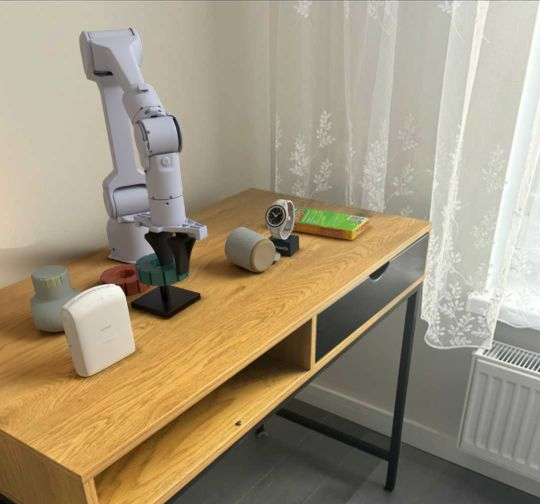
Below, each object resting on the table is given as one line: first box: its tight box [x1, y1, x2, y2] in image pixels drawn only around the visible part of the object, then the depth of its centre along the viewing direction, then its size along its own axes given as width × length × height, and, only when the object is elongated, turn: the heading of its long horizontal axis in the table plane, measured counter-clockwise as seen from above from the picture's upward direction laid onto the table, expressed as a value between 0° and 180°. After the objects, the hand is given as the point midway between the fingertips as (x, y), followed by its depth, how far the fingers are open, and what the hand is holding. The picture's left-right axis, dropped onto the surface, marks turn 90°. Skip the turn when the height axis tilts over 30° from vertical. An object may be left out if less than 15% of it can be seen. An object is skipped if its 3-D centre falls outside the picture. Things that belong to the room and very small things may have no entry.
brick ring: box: [99, 263, 150, 297], centre depth 118 cm, size 9×9×3 cm
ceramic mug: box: [224, 226, 281, 273], centre depth 123 cm, size 11×8×8 cm
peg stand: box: [130, 284, 202, 320], centre depth 110 cm, size 9×9×7 cm
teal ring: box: [135, 253, 191, 287], centre depth 108 cm, size 9×9×3 cm
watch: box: [264, 198, 300, 257], centre depth 128 cm, size 6×8×11 cm
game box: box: [292, 206, 370, 241], centre depth 142 cm, size 3×10×20 cm
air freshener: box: [29, 264, 81, 333], centre depth 104 cm, size 11×8×10 cm
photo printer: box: [60, 284, 136, 378], centre depth 92 cm, size 10×4×12 cm, turn 140°
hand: (175, 271), depth 107 cm, fingers closed on teal ring, 3 cm apart
